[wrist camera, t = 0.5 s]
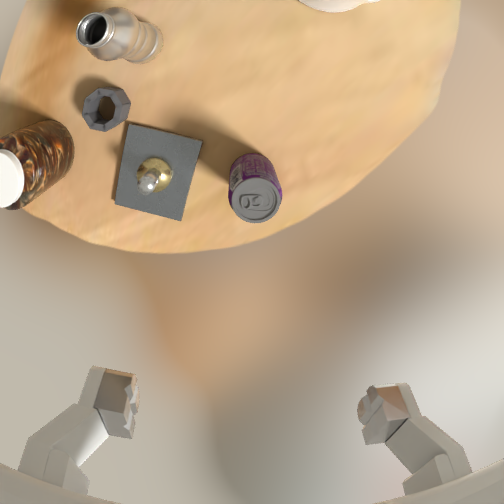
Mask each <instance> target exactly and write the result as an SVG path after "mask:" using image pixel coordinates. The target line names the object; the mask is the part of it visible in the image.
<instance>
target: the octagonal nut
mask: <svg viewBox="0 0 504 504" xmlns="http://www.w3.org/2000/svg"><path fill="white" fill-rule="evenodd" d="M104 96H108V97H110V98H111V99H112V101H113V103H114V104H115V106H116V108H115V113H114V117H113V119H112V120H106V119H103V117H102V116H101V114H100V112H99V111H98V108H99V103H100V99H102V98H103V97H104ZM130 104H131V103H130V100H129V98H128V97H127V95H126V93H125V92H124V90H123V89H119V88H113V87H104V88H98V89H97V90H95V91H94V92H93V93H91V94H90V95H89V96H88V97H86V99H85V101H84V106H83V112H82V116H83V118H84V120H85V121H86V123H87V124H88V126H89V128H91V129H94V130H99V131H104V132H105V131H108V130H110V129H112V128H114V127H116V126H117V125H118V124H120V123H121V122H123V121H124V120H126V119H127V117H128V113H129V109H130Z"/></svg>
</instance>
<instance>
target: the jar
mask: <svg viewBox="0 0 504 504" xmlns="http://www.w3.org/2000/svg"><path fill="white" fill-rule="evenodd" d="M73 159H74V144H73V140H72V137H71V135H70V133H69V131H68V130H67V129H66V127H64V126H63V125H62V124H61V123H59V122H57V121H53V120H45V121H41V122H38V123H35V124H32V125H30V126H27V127H24V128H22V129H19V130H17V131H14V132H12V133H10V134H8V135H6V136H4V137H2V138H0V207H2V208H5V209H8V210H16V209H20V208H22V207H24V206H26V205H27V204H29V203H30V202H32V201H33V200H34V199H36V198H37V197H38V196H40V195H41V194H42V193H44V192H45V191H46V190H47V189H49V188H50V187H51V186H53V185H54V184H55V183H57V182H58V181H59V180H61V179H62V178H63V177H64V176H65V175H66V174H67V173H68V171H69V170H70V168H71V165H72V163H73Z"/></svg>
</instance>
